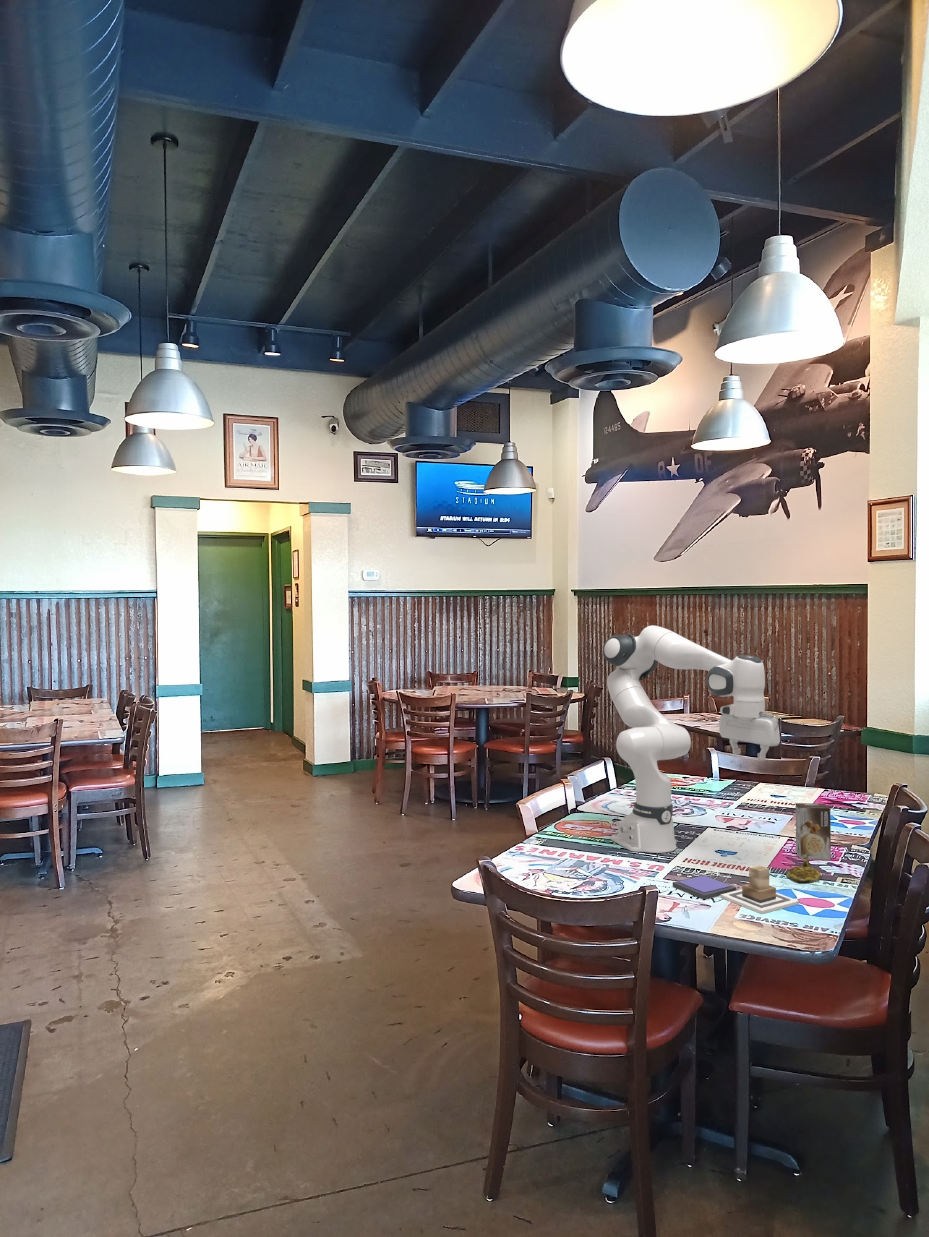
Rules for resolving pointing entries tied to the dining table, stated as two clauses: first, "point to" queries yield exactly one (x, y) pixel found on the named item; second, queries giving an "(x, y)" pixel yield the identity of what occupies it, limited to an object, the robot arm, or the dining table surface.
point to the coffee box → (813, 831)
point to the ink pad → (704, 887)
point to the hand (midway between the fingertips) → (748, 756)
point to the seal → (803, 873)
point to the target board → (763, 907)
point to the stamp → (759, 885)
